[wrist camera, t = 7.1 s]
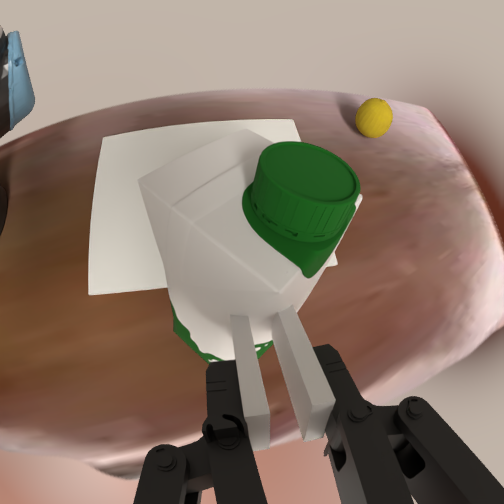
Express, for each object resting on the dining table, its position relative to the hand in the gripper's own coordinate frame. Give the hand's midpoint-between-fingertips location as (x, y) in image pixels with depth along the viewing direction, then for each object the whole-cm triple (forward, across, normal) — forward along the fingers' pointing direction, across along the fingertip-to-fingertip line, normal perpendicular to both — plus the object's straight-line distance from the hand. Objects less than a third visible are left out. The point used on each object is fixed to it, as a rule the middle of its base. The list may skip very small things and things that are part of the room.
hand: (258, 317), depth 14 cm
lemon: (+30, +23, +8) cm, 39 cm away
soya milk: (+10, -2, -9) cm, 14 cm away
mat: (+22, -3, +2) cm, 23 cm away
